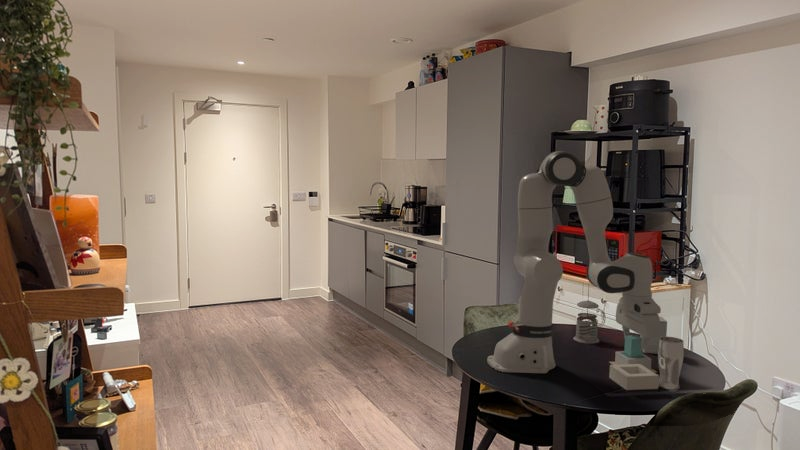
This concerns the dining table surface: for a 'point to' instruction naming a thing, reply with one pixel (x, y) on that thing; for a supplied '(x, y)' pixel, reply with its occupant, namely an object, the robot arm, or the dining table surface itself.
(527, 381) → the dining table surface
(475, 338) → the dining table surface
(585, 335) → the french press
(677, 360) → the beer glass
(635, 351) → the plug
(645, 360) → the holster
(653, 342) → the supplement box
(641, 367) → the port block
